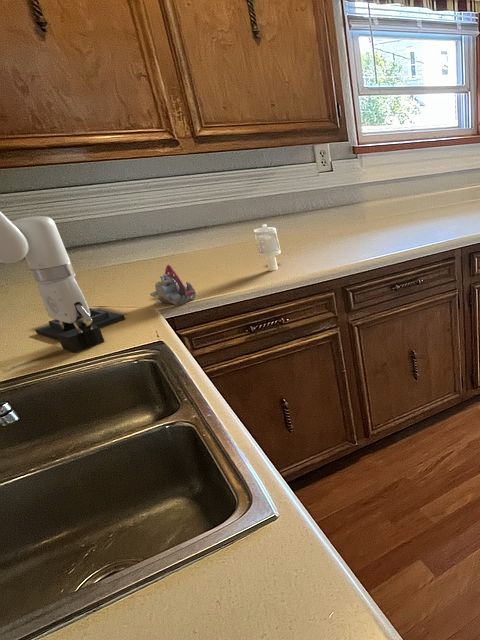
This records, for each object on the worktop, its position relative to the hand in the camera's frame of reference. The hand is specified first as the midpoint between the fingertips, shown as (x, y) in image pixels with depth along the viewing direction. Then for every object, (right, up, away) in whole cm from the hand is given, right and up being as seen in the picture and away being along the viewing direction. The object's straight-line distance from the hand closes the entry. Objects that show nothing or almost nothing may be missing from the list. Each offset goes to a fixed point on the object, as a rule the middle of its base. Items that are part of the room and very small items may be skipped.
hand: (83, 343), depth 127 cm
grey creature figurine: (+8, +13, +27) cm, 31 cm away
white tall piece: (+25, +27, +54) cm, 65 cm away
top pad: (0, -1, 0) cm, 1 cm away
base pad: (-9, +5, +12) cm, 16 cm away
